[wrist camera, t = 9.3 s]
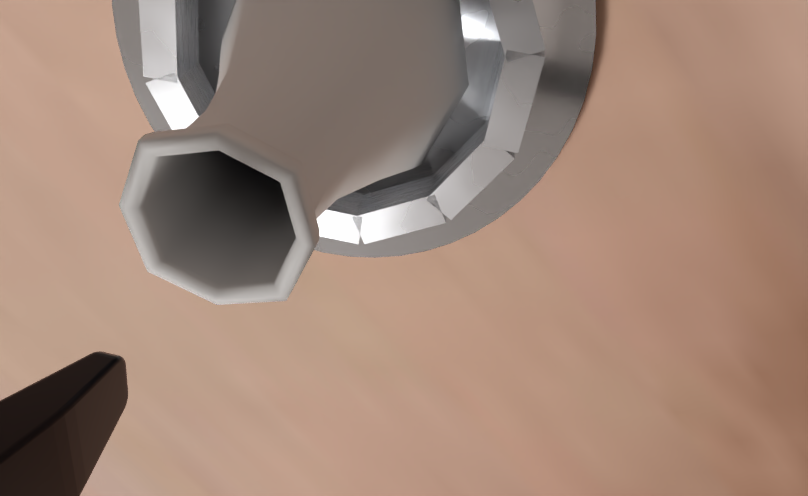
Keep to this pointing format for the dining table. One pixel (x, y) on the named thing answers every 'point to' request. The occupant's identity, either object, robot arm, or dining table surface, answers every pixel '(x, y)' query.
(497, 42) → the duct flange
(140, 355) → the dining table surface
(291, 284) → the flask
